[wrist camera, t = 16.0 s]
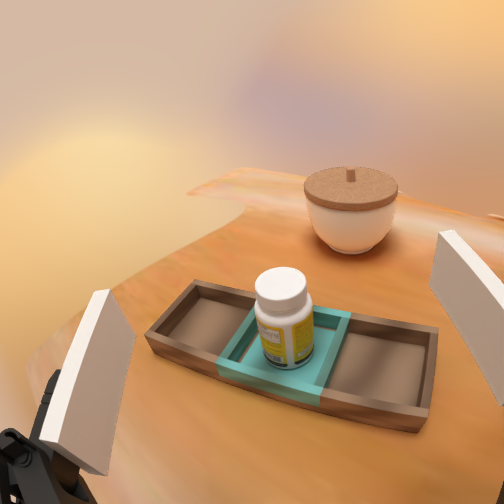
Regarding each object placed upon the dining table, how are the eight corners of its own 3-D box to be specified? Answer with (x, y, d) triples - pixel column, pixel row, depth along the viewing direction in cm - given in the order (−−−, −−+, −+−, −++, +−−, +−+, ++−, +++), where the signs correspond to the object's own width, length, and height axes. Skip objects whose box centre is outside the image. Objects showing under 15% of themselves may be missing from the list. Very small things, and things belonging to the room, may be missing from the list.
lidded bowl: (292, 235, 48) (285, 166, 42) (356, 212, 51) (356, 149, 45) (341, 279, 38) (342, 196, 32) (410, 246, 41) (418, 172, 35)
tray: (154, 353, 32) (143, 334, 31) (200, 298, 39) (194, 279, 37) (417, 433, 20) (427, 417, 18) (431, 347, 27) (438, 327, 25)
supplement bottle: (310, 329, 31) (307, 260, 26) (317, 367, 27) (317, 298, 22) (262, 335, 31) (249, 267, 26) (264, 373, 27) (249, 306, 23)
